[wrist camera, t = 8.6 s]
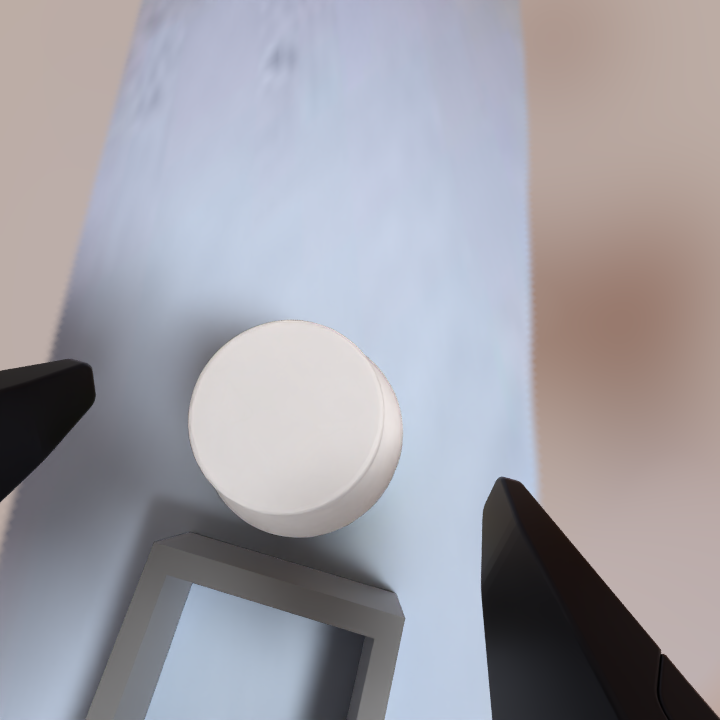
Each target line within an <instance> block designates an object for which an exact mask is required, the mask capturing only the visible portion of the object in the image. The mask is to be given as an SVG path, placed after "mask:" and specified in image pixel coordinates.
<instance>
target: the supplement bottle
mask: <svg viewBox="0 0 720 720" xmlns="http://www.w3.org/2000/svg"><path fill="white" fill-rule="evenodd" d="M188 430H189V439H190V444H191V448H192V451H193V454H194V457H195V459H196V461H197V463H198V465H199V467H200V469H201V471H202V472H203V474H204V476H205V477H206V478H207V480H208V481H209V482H210V483H211V484H212V485H213V486H214V488H215V489H216V491H217V492H218V494H219V496H220V497H221V498H222V500H223V501H224V503H225V504H226V505H227V506H228V507H229V508H230V509H231V510H232V511H233V512H234V513H235V514H236V515H237V516H239V517H240V518H241V519H243V520H244V521H245V522H247V523H248V524H250V525H252V526H254V527H256V528H258V529H260V530H262V531H265V532H268V533H271V534H274V535H279V536H285V537H294V538H299V537H314V536H319V535H323V534H327V533H330V532H333V531H336V530H338V529H340V528H342V527H345V526H347V525H349V524H350V523H352V522H353V521H355V520H356V519H358V518H359V517H361V516H362V515H363V514H364V513H366V512H367V511H368V510H369V509H370V508H371V507H372V506H373V505H374V504H375V503H376V502H377V501H378V499H379V498H380V497H381V496H382V494H383V493H384V491H385V490H386V488H387V487H388V485H389V483H390V481H391V479H392V477H393V475H394V472H395V470H396V467H397V465H398V462H399V459H400V455H401V449H402V441H403V424H402V416H401V411H400V407H399V403H398V400H397V398H396V395H395V393H394V391H393V389H392V387H391V385H390V383H389V382H388V380H387V378H386V377H385V375H384V374H383V373H382V371H381V370H380V369H379V368H378V367H377V366H376V365H375V364H374V363H373V362H372V361H371V360H370V359H369V358H368V357H367V356H365V355H364V354H363V352H362V351H361V350H360V349H359V348H358V347H357V346H356V345H355V344H354V343H353V342H351V341H350V340H349V339H348V338H346V337H345V336H343V335H342V334H340V333H339V332H337V331H335V330H333V329H331V328H328V327H326V326H323V325H320V324H317V323H313V322H308V321H303V320H281V321H274V322H269V323H265V324H262V325H258V326H256V327H253V328H250V329H248V330H246V331H245V332H243V333H241V334H239V335H237V336H236V337H234V338H233V339H231V340H230V341H229V342H227V343H226V344H225V345H224V346H222V347H221V348H220V349H219V350H218V351H217V352H216V353H215V354H214V356H213V357H212V358H211V359H210V360H209V362H208V363H207V365H206V366H205V368H204V369H203V371H202V372H201V374H200V376H199V378H198V380H197V382H196V385H195V387H194V390H193V393H192V397H191V401H190V406H189V412H188Z"/></svg>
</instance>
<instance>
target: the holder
mask: <svg viewBox="0 0 720 720" xmlns="http://www.w3.org/2000/svg"><path fill="white" fill-rule="evenodd" d="M192 583H195V584H198V585H201V586H205V587H208V588H211V589H214V590H218V591H221V592H224V593H227V594H231V595H234V596H237V597H241V598H244V599H247V600H250V601H254V602H257V603H260V604H263V605H267V606H270V607H273V608H276V609H280V610H283V611H286V612H289V613H293V614H296V615H299V616H302V617H306V618H309V619H312V620H315V621H319V622H322V623H325V624H328V625H332V626H335V627H338V628H341V629H345V630H348V631H351V632H354V633H358V634H361V635H364V636H365V639H364V644H363V648H362V653H361V657H360V661H359V666H358V670H357V675H356V679H355V683H354V688H353V692H352V696H351V701H350V705H349V710H348V714H347V718H346V720H384V719H385V714H386V709H387V704H388V699H389V694H390V689H391V684H392V680H393V675H394V670H395V665H396V660H397V655H398V650H399V645H400V641H401V636H402V631H403V626H404V621H405V616H404V614H403V611H402V608H401V605H400V603H399V600H398V597H397V594H396V593H393V592H389V591H386V590H383V589H379V588H376V587H373V586H369V585H366V584H363V583H359V582H356V581H352V580H349V579H346V578H342V577H339V576H336V575H332V574H329V573H326V572H322V571H319V570H316V569H312V568H309V567H306V566H302V565H299V564H295V563H292V562H289V561H285V560H282V559H279V558H275V557H272V556H269V555H265V554H262V553H259V552H255V551H252V550H249V549H245V548H242V547H238V546H235V545H232V544H228V543H225V542H222V541H218V540H215V539H212V538H208V537H205V536H202V535H198V534H195V533H191V532H188V533H184V534H181V535H177V536H174V537H170V538H167V539H163V540H160V541H156V542H154V543H153V546H152V548H151V551H150V553H149V556H148V559H147V561H146V564H145V566H144V569H143V572H142V574H141V577H140V579H139V582H138V585H137V587H136V590H135V592H134V595H133V597H132V600H131V603H130V605H129V608H128V610H127V613H126V616H125V618H124V621H123V623H122V626H121V629H120V631H119V634H118V636H117V639H116V641H115V644H114V647H113V649H112V652H111V654H110V657H109V660H108V662H107V665H106V667H105V670H104V673H103V675H102V678H101V680H100V683H99V685H98V688H97V691H96V693H95V696H94V698H93V701H92V704H91V706H90V709H89V711H88V714H87V717H86V719H85V720H144V719H145V716H146V713H147V710H148V708H149V705H150V702H151V699H152V696H153V693H154V691H155V688H156V685H157V682H158V679H159V676H160V673H161V671H162V668H163V665H164V662H165V659H166V656H167V653H168V651H169V648H170V645H171V642H172V639H173V636H174V633H175V631H176V628H177V625H178V622H179V619H180V616H181V613H182V611H183V608H184V605H185V602H186V599H187V596H188V594H189V591H190V588H191V585H192Z"/></svg>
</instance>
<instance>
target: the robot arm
mask: <svg viewBox="0 0 720 720" xmlns="http://www.w3.org/2000/svg"><path fill="white" fill-rule="evenodd" d="M95 397H96V392H95V385H94V378H93V371H92V368H91V366H90V365H89V364H87V363H85V362H81V361H78V360H74V359H65V360H59V361H54V362H48V363H42V364H36V365H31V366H25V367H19V368H14V369H8V370H2V371H0V502H1V501H2V500H3V499H4V498H5V497H6V496H7V495H9V494H10V493H11V492H12V491H13V490H14V489H15V488H16V487H17V486H18V485H19V484H20V483H21V482H22V481H23V480H24V479H25V478H26V477H27V476H28V475H29V474H31V473H32V472H33V471H34V470H35V469H36V468H37V467H38V466H39V465H40V464H41V463H42V462H43V461H44V460H45V459H46V458H47V456H48V455H49V454H50V453H51V452H52V451H53V450H54V449H55V448H56V446H57V445H58V444H59V443H60V442H61V441H62V440H63V438H64V437H65V436H66V435H67V434H68V433H69V432H70V430H71V429H72V428H73V427H74V426H75V425H76V423H77V422H78V421H79V420H80V419H81V418H82V417H83V415H84V414H85V413H86V412H87V411H88V410H89V409H90V407H91V406H92V405H93V403H94V401H95ZM481 595H482V608H483V619H484V631H485V642H486V653H487V665H488V676H489V687H490V699H491V710H492V720H720V718H719V717H718V716H717V715H716V714H715V713H714V711H713V710H712V709H711V708H710V707H709V705H708V704H707V703H706V702H705V701H704V700H703V698H702V697H701V696H700V695H699V694H698V693H697V691H696V690H695V689H694V688H693V687H692V686H691V684H690V683H689V682H688V681H687V680H686V679H685V677H684V676H683V675H682V674H681V673H680V671H679V670H678V669H677V668H676V667H675V665H674V664H673V663H672V662H671V661H670V660H669V658H668V657H667V656H666V655H664V654H661V649H660V648H659V647H658V645H657V644H656V643H655V642H654V641H653V639H652V638H651V637H650V636H649V635H648V634H647V632H646V631H645V630H644V629H643V627H642V626H641V625H640V624H639V623H638V621H637V620H636V619H635V618H634V617H633V616H632V614H631V613H630V612H629V611H628V610H627V609H626V607H625V606H624V605H623V604H622V602H621V601H620V600H619V599H618V598H617V596H615V594H614V593H613V592H612V591H611V589H610V588H609V587H608V586H607V585H606V583H605V582H604V581H603V580H602V579H601V577H600V576H599V575H598V574H597V573H596V571H595V570H594V569H593V568H592V567H591V566H590V564H589V563H588V562H587V561H586V559H585V558H584V557H583V556H582V555H581V554H580V552H579V551H578V550H577V549H576V548H575V546H574V545H573V544H572V543H571V541H570V540H569V539H568V538H567V537H566V536H565V534H564V533H563V532H562V531H561V530H560V528H559V527H558V526H557V525H556V524H555V522H554V521H553V520H552V519H551V518H550V516H549V515H548V514H547V513H546V512H545V510H544V509H543V508H542V507H541V506H540V504H539V503H538V502H537V501H536V500H535V498H534V497H533V496H532V495H531V494H530V492H529V491H528V490H527V489H526V488H525V487H524V485H523V484H522V483H521V482H519V481H517V480H513V479H510V478H506V477H499V478H498V479H497V480H496V482H495V484H494V486H493V488H492V490H491V492H490V495H489V497H488V499H487V501H486V503H485V506H484V509H483V519H482V559H481Z"/></svg>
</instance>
